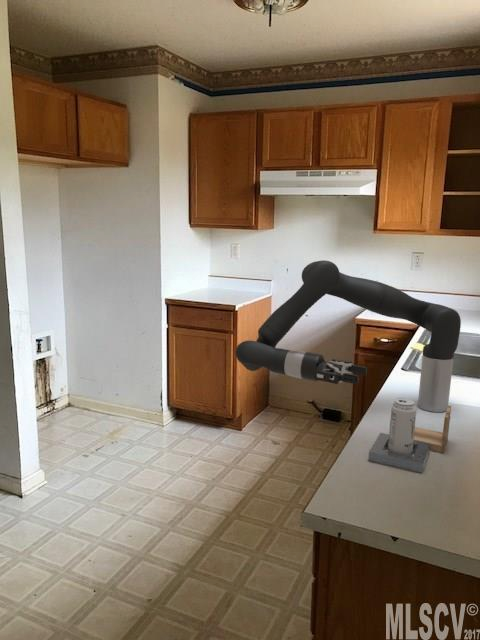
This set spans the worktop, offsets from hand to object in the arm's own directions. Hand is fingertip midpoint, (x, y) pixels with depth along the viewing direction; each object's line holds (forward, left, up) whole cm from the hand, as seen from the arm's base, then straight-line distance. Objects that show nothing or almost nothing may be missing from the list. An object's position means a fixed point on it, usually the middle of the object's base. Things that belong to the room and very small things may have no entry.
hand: (362, 375), depth 137 cm
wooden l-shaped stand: (-10, +17, -19) cm, 28 cm away
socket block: (+2, +11, -19) cm, 23 cm away
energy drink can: (+2, +11, -20) cm, 23 cm away
